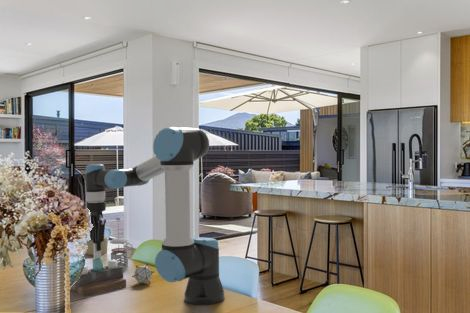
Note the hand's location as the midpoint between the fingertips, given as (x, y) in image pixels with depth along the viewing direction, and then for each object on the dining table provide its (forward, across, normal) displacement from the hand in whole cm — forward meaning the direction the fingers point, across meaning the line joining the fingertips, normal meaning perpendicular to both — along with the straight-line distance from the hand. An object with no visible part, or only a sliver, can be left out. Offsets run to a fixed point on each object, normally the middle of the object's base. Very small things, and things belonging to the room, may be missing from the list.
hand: (97, 258), depth 193 cm
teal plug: (+6, 0, 0) cm, 6 cm away
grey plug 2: (+8, 0, -6) cm, 11 cm away
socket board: (+12, 0, 0) cm, 12 cm away
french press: (+13, +20, -20) cm, 31 cm away
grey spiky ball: (+13, -8, -16) cm, 22 cm away
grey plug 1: (+8, 0, +7) cm, 11 cm away
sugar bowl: (+13, +64, -27) cm, 71 cm away
